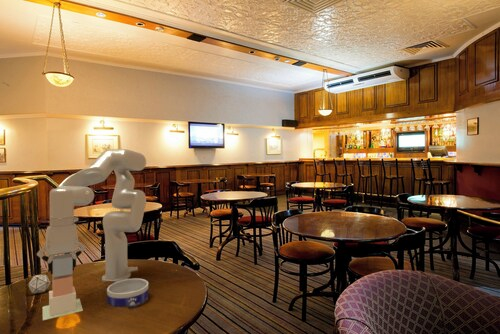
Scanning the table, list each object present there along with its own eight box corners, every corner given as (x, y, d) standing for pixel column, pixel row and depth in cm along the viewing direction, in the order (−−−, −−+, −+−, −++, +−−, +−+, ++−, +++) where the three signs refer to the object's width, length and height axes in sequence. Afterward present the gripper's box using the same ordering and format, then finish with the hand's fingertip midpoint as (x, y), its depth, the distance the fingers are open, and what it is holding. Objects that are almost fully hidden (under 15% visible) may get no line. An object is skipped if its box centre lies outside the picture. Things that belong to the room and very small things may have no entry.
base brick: (74, 301, 116) (73, 286, 116) (76, 309, 110) (75, 293, 110) (49, 307, 112) (49, 291, 112) (49, 316, 105) (49, 299, 105)
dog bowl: (117, 314, 109) (117, 297, 109) (100, 301, 120) (100, 285, 120) (155, 300, 120) (155, 284, 120) (137, 289, 131) (137, 275, 131)
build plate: (79, 301, 119) (79, 298, 119) (82, 313, 109) (82, 310, 109) (42, 309, 112) (42, 306, 112) (42, 323, 102) (42, 320, 102)
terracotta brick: (71, 287, 115) (71, 271, 115) (72, 293, 110) (72, 276, 110) (52, 291, 112) (52, 275, 112) (53, 297, 107) (53, 280, 107)
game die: (40, 303, 125) (35, 290, 119) (24, 294, 127) (18, 281, 121) (58, 286, 132) (54, 272, 126) (43, 278, 134) (38, 264, 128)
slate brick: (71, 269, 115) (71, 253, 115) (72, 273, 110) (72, 257, 110) (52, 272, 112) (52, 256, 111) (52, 277, 107) (52, 260, 107)
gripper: (87, 218, 119) (87, 264, 119) (33, 223, 109) (33, 273, 109) (89, 221, 112) (90, 269, 113) (32, 226, 103) (33, 279, 103)
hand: (62, 270), depth 111 cm, fingers closed on slate brick, 5 cm apart
